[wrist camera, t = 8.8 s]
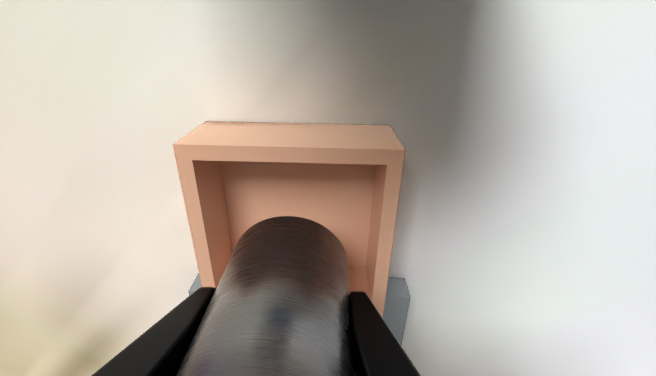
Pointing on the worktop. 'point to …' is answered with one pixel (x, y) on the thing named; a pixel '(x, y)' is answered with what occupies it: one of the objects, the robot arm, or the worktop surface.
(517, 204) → the worktop surface
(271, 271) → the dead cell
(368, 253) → the salmon pink square tray
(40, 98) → the worktop surface
